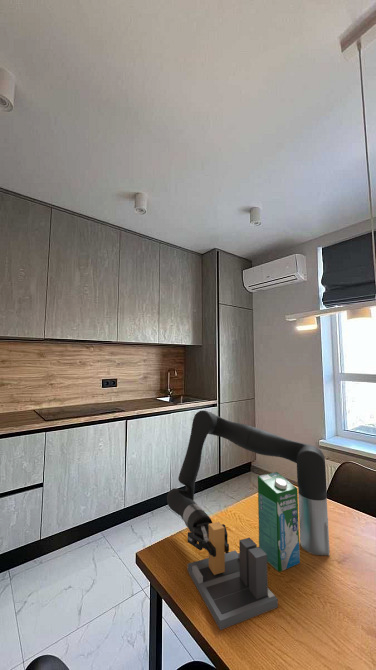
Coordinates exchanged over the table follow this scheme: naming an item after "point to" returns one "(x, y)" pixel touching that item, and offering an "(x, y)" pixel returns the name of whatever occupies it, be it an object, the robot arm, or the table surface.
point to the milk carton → (278, 521)
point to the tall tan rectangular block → (217, 547)
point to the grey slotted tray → (235, 585)
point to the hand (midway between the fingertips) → (221, 551)
